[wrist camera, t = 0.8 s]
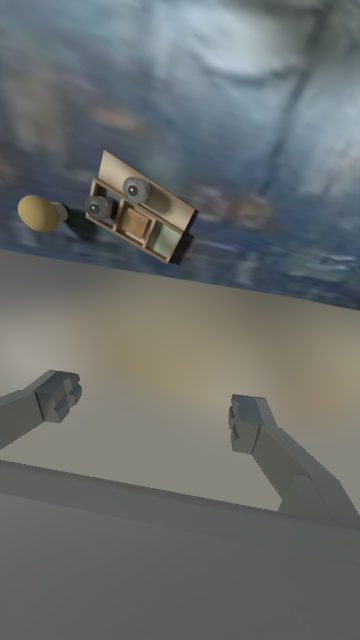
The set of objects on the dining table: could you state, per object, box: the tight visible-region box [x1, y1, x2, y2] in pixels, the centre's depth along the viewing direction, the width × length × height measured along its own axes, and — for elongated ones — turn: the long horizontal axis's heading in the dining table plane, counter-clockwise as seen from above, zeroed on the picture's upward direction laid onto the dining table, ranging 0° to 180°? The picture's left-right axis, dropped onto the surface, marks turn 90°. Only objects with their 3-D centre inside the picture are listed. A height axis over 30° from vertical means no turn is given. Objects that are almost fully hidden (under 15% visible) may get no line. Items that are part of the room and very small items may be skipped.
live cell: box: [123, 177, 152, 204], centre depth 35 cm, size 4×4×7 cm
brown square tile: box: [122, 207, 150, 239], centre depth 41 cm, size 5×5×1 cm
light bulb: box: [18, 195, 68, 232], centre depth 39 cm, size 6×6×10 cm
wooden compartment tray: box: [86, 150, 195, 264], centre depth 40 cm, size 13×20×3 cm, turn 61°
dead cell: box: [85, 196, 118, 221], centre depth 37 cm, size 4×4×7 cm
